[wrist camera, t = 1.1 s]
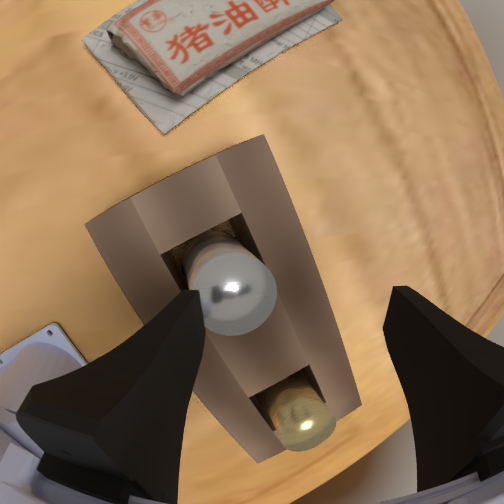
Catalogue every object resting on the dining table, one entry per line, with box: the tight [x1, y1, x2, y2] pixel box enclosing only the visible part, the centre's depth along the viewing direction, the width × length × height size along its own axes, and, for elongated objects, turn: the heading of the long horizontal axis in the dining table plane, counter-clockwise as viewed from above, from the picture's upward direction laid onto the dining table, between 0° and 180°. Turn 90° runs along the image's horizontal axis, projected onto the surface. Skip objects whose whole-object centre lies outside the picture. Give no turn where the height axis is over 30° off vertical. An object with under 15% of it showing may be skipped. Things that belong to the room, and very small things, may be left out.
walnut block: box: [85, 134, 362, 463], centre depth 21 cm, size 10×22×6 cm, turn 24°
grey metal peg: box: [183, 230, 277, 336], centre depth 15 cm, size 4×4×6 cm
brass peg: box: [258, 370, 336, 451], centre depth 19 cm, size 4×4×6 cm
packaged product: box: [82, 0, 342, 134], centre depth 16 cm, size 18×5×10 cm
